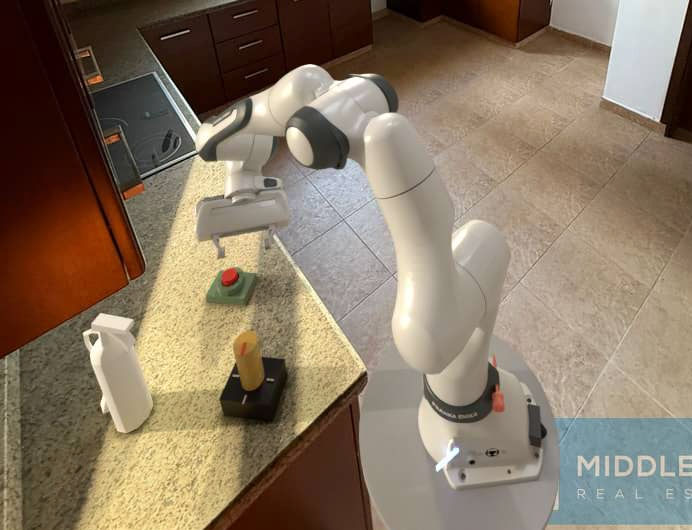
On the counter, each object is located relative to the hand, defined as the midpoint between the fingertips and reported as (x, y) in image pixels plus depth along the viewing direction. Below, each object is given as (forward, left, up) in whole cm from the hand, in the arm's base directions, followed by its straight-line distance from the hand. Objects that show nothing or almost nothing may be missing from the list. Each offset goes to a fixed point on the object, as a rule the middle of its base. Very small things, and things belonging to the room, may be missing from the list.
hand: (244, 253), depth 92 cm
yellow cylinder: (-5, +13, -18) cm, 22 cm away
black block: (-5, +13, -23) cm, 26 cm away
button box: (+11, -8, -23) cm, 26 cm away
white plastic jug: (+19, +18, -23) cm, 35 cm away
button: (+11, -8, -19) cm, 24 cm away
